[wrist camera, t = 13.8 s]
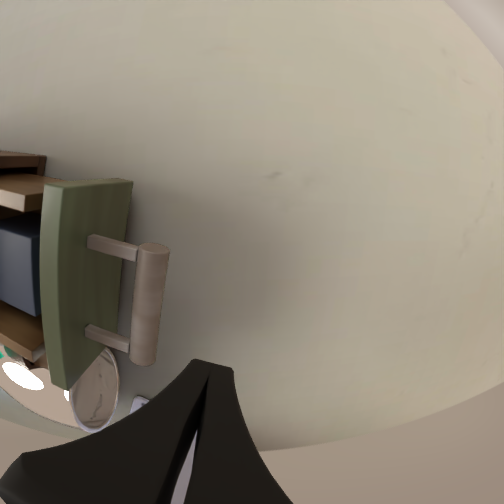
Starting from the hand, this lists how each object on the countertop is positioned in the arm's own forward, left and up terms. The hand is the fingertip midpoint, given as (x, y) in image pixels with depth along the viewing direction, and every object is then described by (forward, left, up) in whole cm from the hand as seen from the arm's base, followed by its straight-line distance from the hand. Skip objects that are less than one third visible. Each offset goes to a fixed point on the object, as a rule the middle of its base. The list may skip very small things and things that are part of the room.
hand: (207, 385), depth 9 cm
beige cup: (+20, +16, -6) cm, 26 cm away
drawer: (+11, +2, -9) cm, 14 cm away
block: (+12, +2, -7) cm, 14 cm away
